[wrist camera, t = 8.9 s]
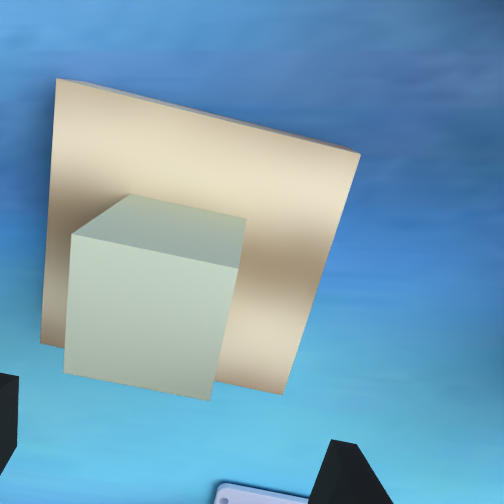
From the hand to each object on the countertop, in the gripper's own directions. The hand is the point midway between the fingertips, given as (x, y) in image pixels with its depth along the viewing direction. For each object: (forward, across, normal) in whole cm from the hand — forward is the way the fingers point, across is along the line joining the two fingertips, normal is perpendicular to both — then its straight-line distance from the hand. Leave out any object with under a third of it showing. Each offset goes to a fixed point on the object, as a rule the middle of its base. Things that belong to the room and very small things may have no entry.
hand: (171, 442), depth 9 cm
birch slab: (+11, +1, -1) cm, 11 cm away
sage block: (+8, +2, -1) cm, 8 cm away
